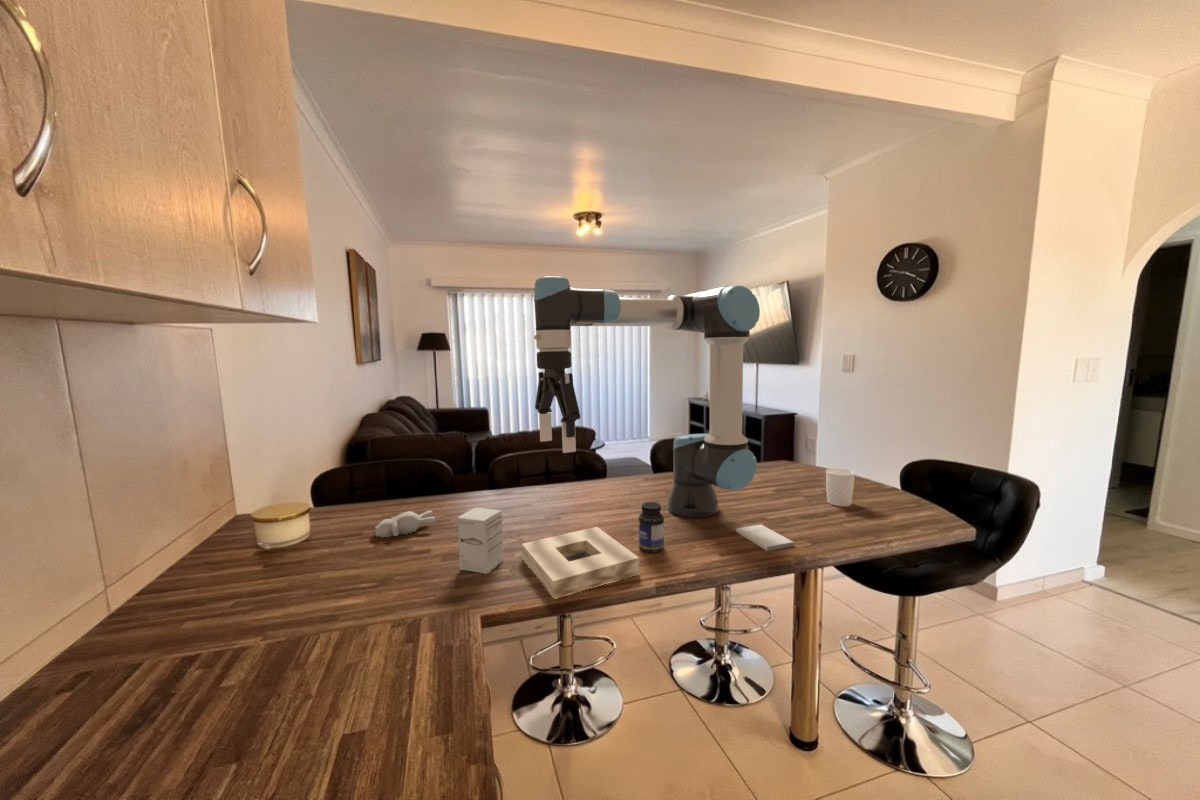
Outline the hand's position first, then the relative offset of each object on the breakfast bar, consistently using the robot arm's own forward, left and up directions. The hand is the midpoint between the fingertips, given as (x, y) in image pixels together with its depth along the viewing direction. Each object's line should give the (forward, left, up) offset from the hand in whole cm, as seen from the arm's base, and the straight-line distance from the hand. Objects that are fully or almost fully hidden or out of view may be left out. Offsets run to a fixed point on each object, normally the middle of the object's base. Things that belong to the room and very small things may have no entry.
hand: (557, 446), depth 101 cm
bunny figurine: (+30, -40, -28) cm, 58 cm away
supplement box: (+16, -9, -28) cm, 34 cm away
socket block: (-3, +3, -28) cm, 28 cm away
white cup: (-91, +6, -28) cm, 96 cm away
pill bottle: (-23, +3, -28) cm, 37 cm away
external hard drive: (-51, +13, -29) cm, 60 cm away
